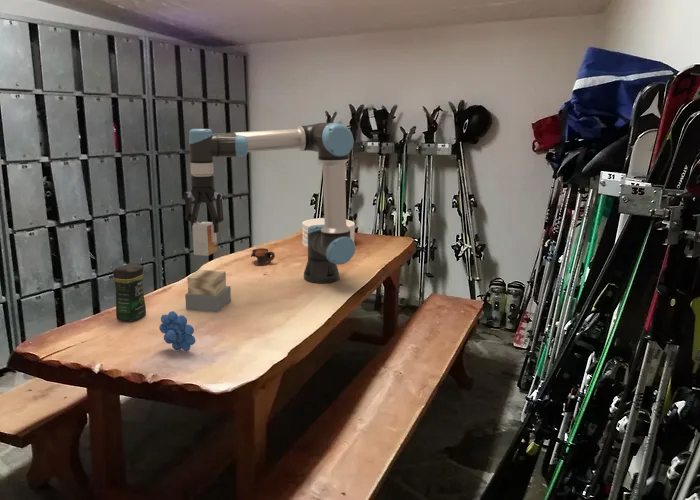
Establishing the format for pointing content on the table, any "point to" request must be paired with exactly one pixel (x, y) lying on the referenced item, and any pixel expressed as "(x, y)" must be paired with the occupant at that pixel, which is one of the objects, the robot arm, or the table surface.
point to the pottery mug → (262, 256)
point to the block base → (208, 301)
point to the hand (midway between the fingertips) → (205, 240)
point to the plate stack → (320, 221)
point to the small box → (203, 239)
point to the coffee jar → (129, 292)
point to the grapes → (177, 331)
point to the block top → (206, 282)
